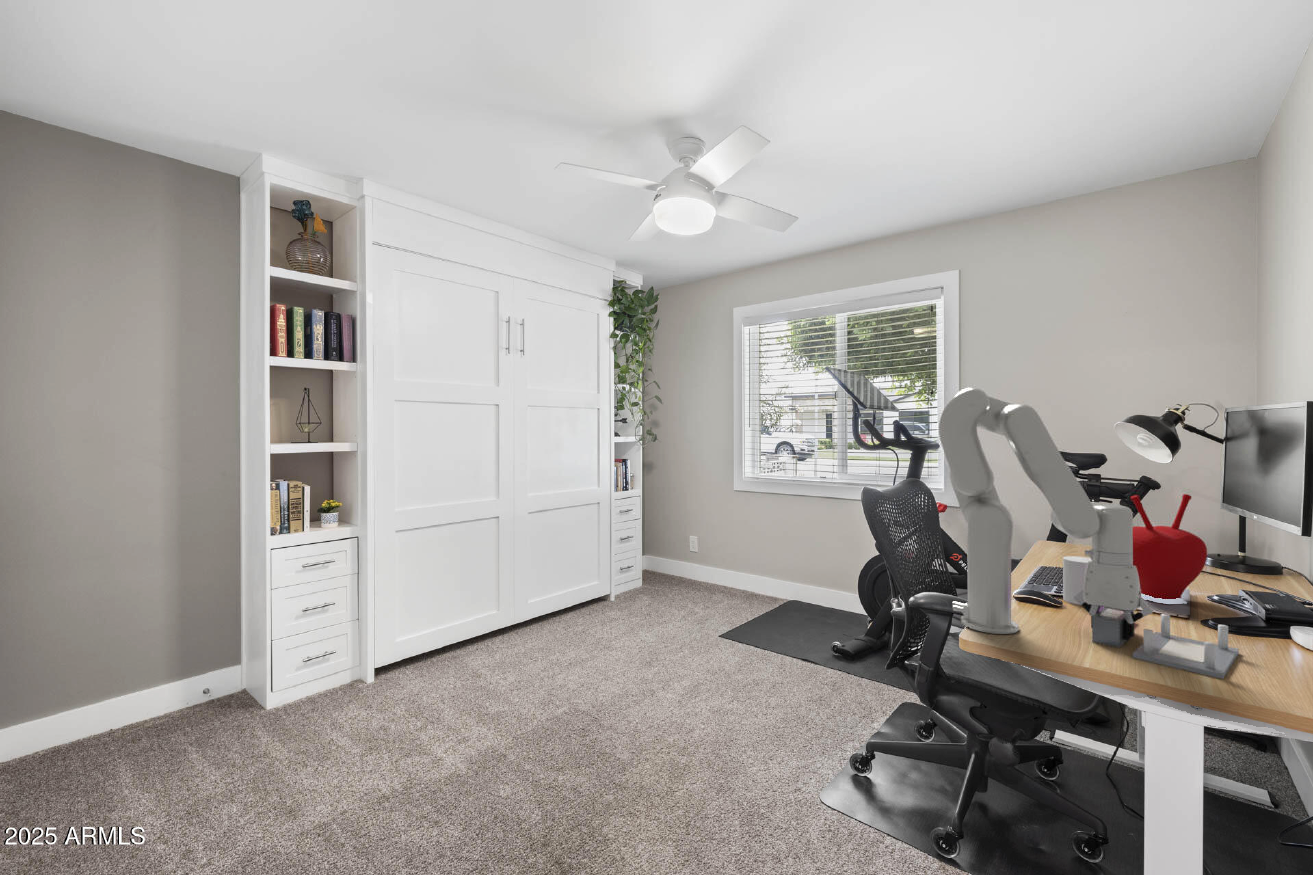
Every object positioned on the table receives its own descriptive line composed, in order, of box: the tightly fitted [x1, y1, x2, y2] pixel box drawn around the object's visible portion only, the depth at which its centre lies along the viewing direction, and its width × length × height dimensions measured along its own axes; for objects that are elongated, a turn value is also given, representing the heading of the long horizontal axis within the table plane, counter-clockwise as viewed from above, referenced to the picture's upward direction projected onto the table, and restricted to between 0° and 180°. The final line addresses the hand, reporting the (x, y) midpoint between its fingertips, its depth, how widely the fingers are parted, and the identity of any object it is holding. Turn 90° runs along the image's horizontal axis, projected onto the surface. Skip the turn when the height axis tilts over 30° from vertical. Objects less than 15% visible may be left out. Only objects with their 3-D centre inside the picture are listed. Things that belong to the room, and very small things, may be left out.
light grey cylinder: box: [1062, 555, 1092, 606], centre depth 165 cm, size 8×8×12 cm
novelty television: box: [1130, 493, 1208, 599], centre depth 165 cm, size 21×13×30 cm, turn 94°
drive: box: [1091, 607, 1128, 649], centre depth 135 cm, size 5×11×6 cm, turn 129°
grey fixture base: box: [1132, 613, 1240, 680], centre depth 125 cm, size 14×20×6 cm
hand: (1112, 634), depth 136 cm, fingers closed on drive, 5 cm apart
